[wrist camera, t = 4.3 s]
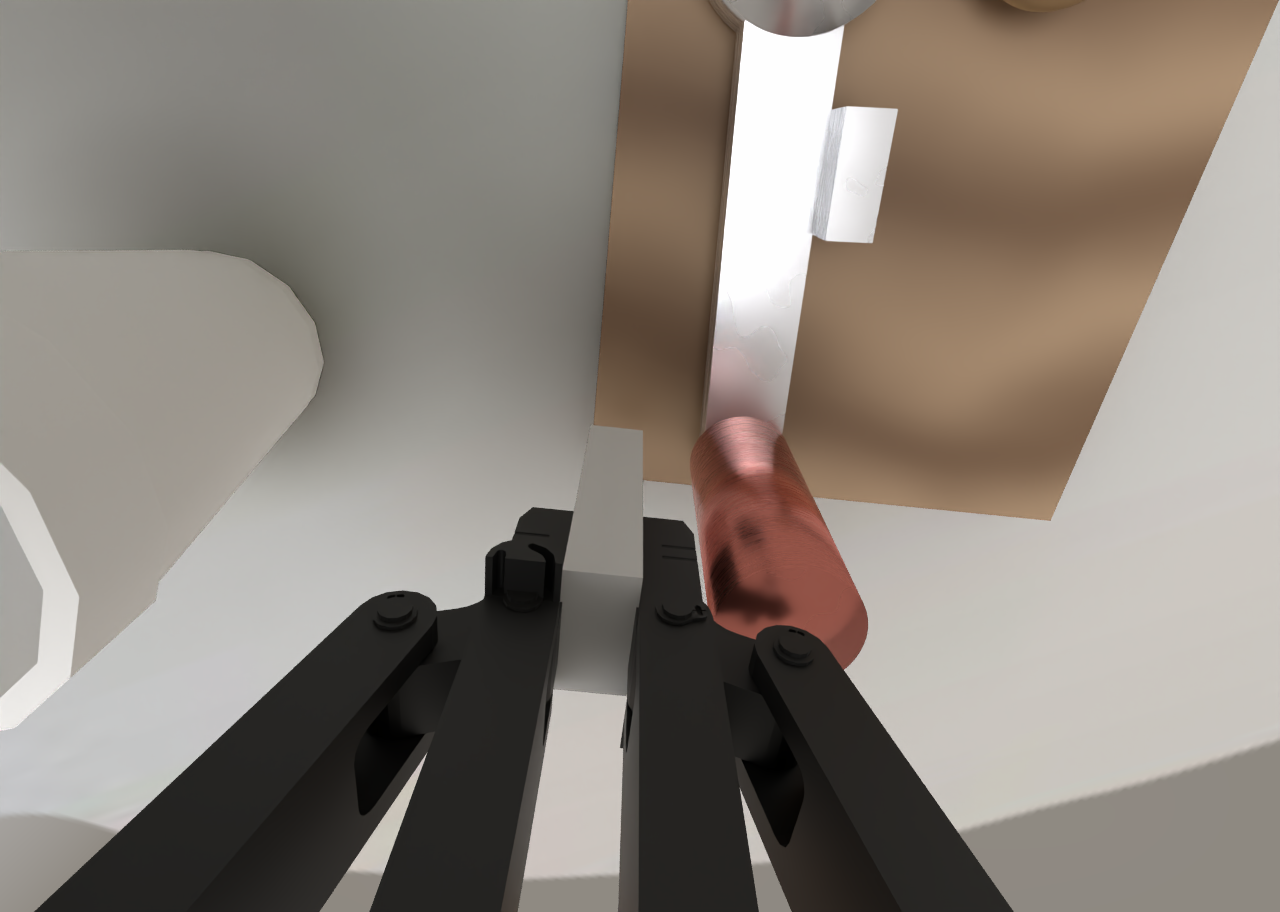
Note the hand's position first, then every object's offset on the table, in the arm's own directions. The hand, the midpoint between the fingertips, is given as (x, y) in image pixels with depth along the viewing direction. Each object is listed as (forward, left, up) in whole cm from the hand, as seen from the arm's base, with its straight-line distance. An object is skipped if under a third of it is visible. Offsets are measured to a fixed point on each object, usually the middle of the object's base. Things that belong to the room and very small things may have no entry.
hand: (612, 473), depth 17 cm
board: (-8, +8, -7) cm, 13 cm away
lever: (-7, +4, -5) cm, 9 cm away
